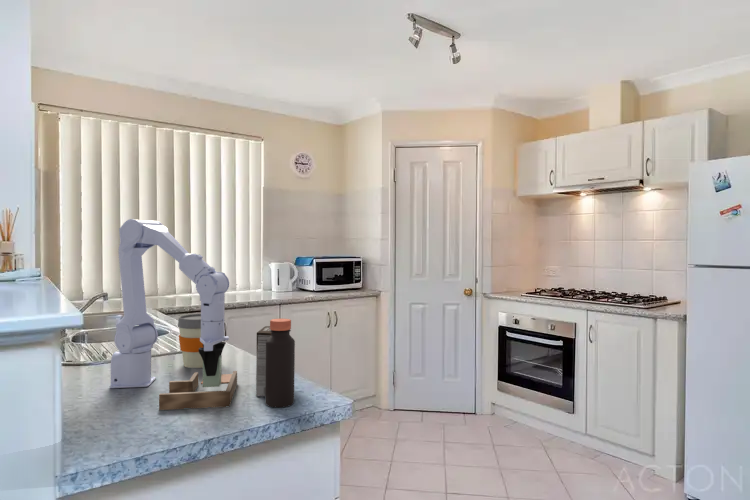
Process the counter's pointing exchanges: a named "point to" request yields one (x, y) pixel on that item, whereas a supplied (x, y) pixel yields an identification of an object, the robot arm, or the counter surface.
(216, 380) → the sage block
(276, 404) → the bottle
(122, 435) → the counter surface
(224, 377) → the tile
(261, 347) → the coffee box
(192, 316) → the reusable coffee cup
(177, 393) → the channel
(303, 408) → the counter surface
